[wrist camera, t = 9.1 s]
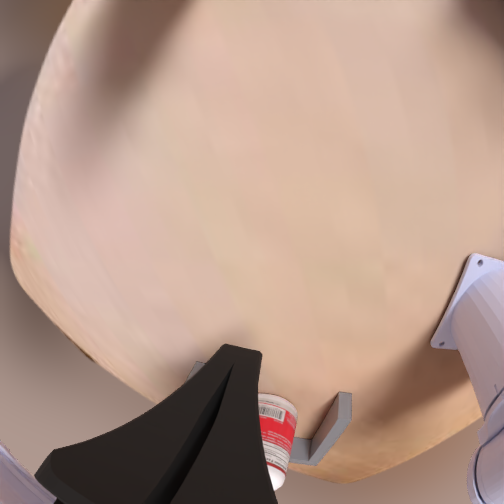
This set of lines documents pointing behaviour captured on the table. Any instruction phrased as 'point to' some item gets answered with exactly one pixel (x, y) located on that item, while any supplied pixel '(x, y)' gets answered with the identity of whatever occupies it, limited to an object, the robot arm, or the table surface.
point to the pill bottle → (277, 434)
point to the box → (326, 434)
